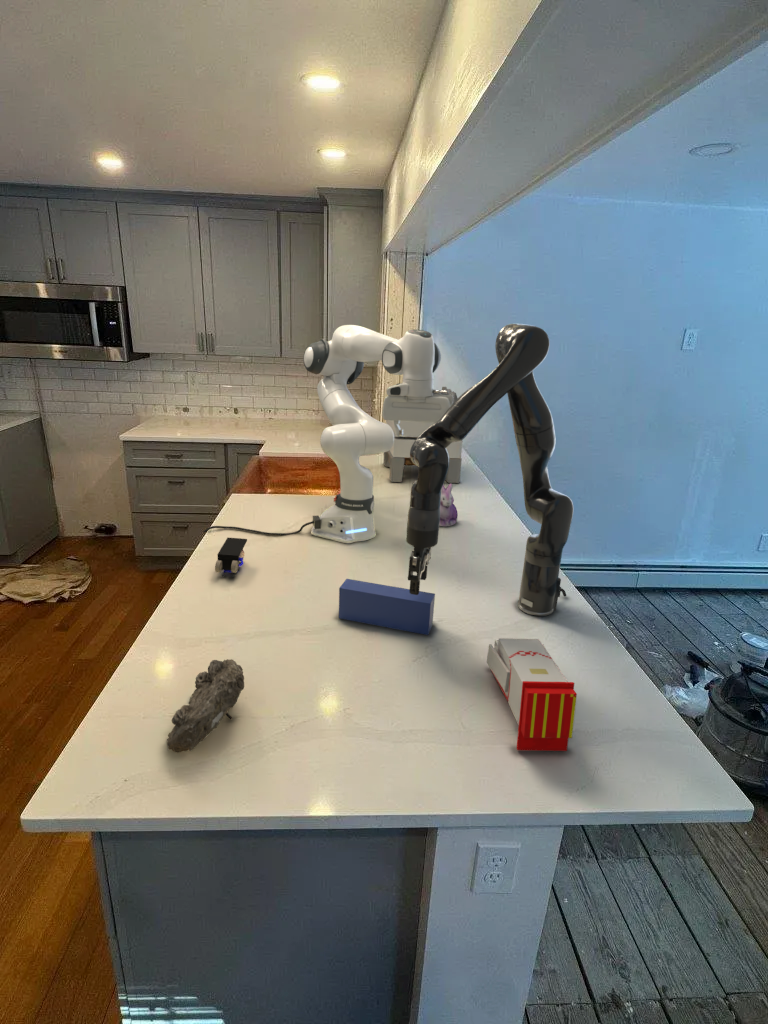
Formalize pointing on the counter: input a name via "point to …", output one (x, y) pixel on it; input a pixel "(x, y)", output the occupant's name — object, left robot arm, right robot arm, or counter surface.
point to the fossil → (206, 705)
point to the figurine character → (230, 556)
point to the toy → (534, 693)
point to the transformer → (403, 444)
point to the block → (386, 606)
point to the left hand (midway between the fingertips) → (416, 436)
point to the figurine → (447, 507)
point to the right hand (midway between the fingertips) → (418, 586)
